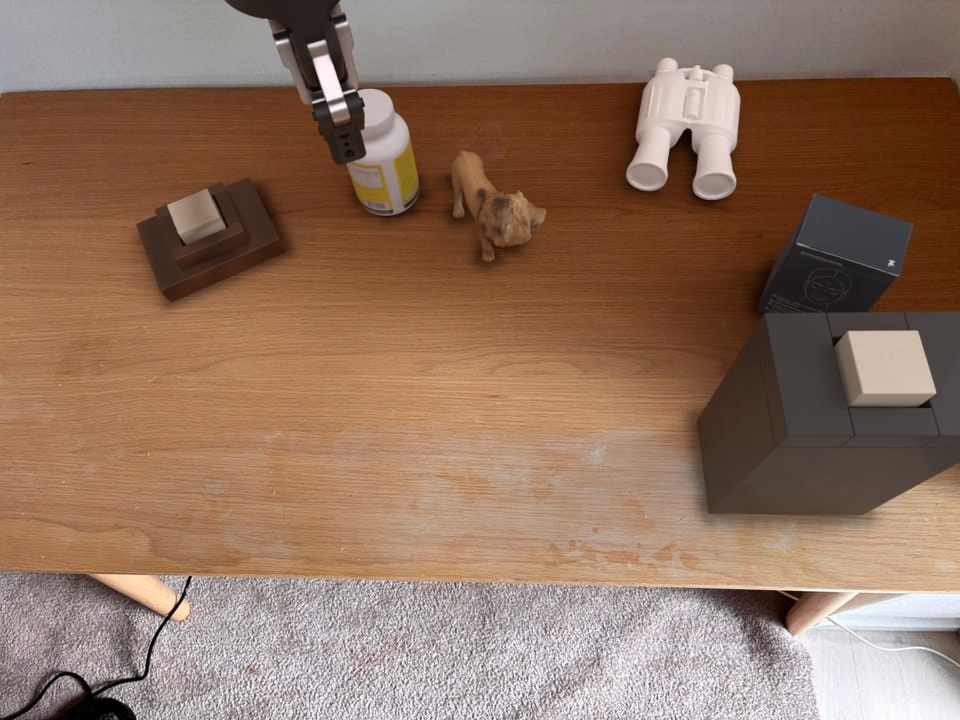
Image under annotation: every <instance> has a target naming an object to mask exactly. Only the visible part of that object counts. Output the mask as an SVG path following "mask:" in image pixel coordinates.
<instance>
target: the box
mask: <svg viewBox="0 0 960 720" xmlns="http://www.w3.org/2000/svg"><path fill="white" fill-rule="evenodd" d="M913 225H914V223H912V222H908V221H907V220H906V221H905V220H902V219H899V218H896V217H892V216H889V215H886V214H883V213H878V212H876V211H873V210H870V209H866V208H863V207H860V206H857V205H853V204H849V203H846V202H843V201H840V200H837V199H833V198H830V197H827V196H823V195H820V194H818V193H813V195H812V196H811V198H810V199H809V201H808V204H807V205H806V207H805V209H804V211H803V212H802V214H801V215H800V217H799V219H798V221H797V223H796V225H795V226H794V228H793V230H792V232H791V233H790V235H789V237H788V239H787V240H786V242H785V244H784V246H783V248H782V249H781V251H780V253H779V254H778V256H777V258H776V260H775V261H774V263H773V265H772V268H771V271H770V273H769V276H768V279H767V281H766V283H765V287H764V290H763V291H762V294H761V297H760V300H759V303H758V304H757V308H756V311H757V312H758V313H761V314H763V315H764V314H765V313H845V312H870V311H871V309H873V307H874V306H875V305H876V303H878V301H879V300H880V299H881V298H882V297H883V295H885V293H886V292H887V291H888V290H889V288H890V287H891V286H892V285H893V284H894V283H895V282H896V280H897V279H898V278H899V277H900V275H901V274H902V273H901V272H902V269H903V264H904V261H905V257H906V253H907V249H908V245H909V241H910V238H911V233H912V230H913Z"/></svg>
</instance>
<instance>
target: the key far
mask: <svg viewBox="0 0 960 720" xmlns="http://www.w3.org/2000/svg"><path fill="white" fill-rule="evenodd" d="M203 189H204V190H203ZM203 189H201V190H202V191H200V190H198V191H199V192H198V191H196V192H197V193H195V192H194V193H195V194H193V193H191V194H192V195H191V194H189V195H190V196H188V195H186V196H187V197H186V196H184V197H185V198H183V197H182V198H183V199H181V198H179V199H180V200H178V199H177V200H178V201H176V200H174V201H175V202H174V201H172V202H173V203H171V202H169V203H170V204H169V203H167V204H168V205H167V207H168V209H169V212H170V214H171V217H172V219H173V222H174V224H175V227H176V229H177V232H178V234H179V236H180V237H181V238H182V240H183V241H184V243H185V244H186V245H188V244H190V243H192V242H195V241H197V240H199V239H202V238H204V237H206V236H209V235H211V234H213V233H216V232H218V231H220V230H223V229H225V228H226V226H225V224H224V221H223V219H222V217H221V215H220V212H219V210H218V208H217V206H216V203H215V201H214V199H213V198H212V196H211V194H210V193H209V191H208V189H205V188H203Z"/></svg>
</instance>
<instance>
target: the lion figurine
mask: <svg viewBox="0 0 960 720" xmlns="http://www.w3.org/2000/svg"><path fill="white" fill-rule="evenodd" d="M443 178H444V179H445V180H446V181H448V182H451V183H452V188H453V192H454V194H453V202H454V203H453V205H454V206H453V211H452V215H453V218H455V219H461V218H463V217H465V210H464V207H463V201H462V198H463V195H462V194H464V199H465V202H466V205H467V208H468V210H469V211H470V213H471V215H472V216H473V218H474V219H475V220H476V226H477V230H478V237H479V240H480V244H481V249H482V253H481V259H482V260H483V261H484V262H487V263H489V262H492V261H493V260H495V259H496V258H495V257H496V256H495V249H494V247H493V246H492V244H493V245H494V246H496V247H498V246H499V247H500V248H502V249H504V248H505V247H507V248H508V247H509V248H510V247H513V246H517V245H520V246H521V245H523V244H526V243H527V242H528V241H530V239H531V238H532V235H531V229H537V228H539V226H540V225H541V224H542V223H544V221H545V217H546V215H547V210H546V209H545V208H543V207H537V206H535V205H534V204H533V203H532V202H531V201H529V200H528V199H527V197H525V196H524V193H523V192H522V191H520V190H517V191H516V192H515V194H511V193H504V192H498V191H497V189H496V188H495V187H494V185H493V184H492V182H491V181H490V180H489V179H488V178H487V176H486V175H485V166H484V163H483V161H482V158H481V157H480V156H479V155H478V154H477V153H475V152H473V151H467V150H461V151H459V153H458V155H457V156H456V158H455V159H454V161H453V162H452V168H451V173H448V174H444V175H443Z"/></svg>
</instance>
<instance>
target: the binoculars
mask: <svg viewBox="0 0 960 720" xmlns="http://www.w3.org/2000/svg"><path fill="white" fill-rule="evenodd" d="M641 95H642V96H641V102H640V107H639V112H638V118H637V124H636V129H635V140H636V142H637V144H638V147H637V149H636V152H635V153H634V157H633V159H632V161H631V162H630V163H629V165H627V168H626V173H625V176H626V180H627V183H629V185H631V186H632V187H633V188H635V189H637V190H640V191H645V192H653V191H657V190H659V189H661V188H663V187H664V186H665V185H666V182H667V180H668V176H669V173H668V161H669V155H670V149H671V148H673V147H674V146H676V145H677V143H678V141H679V139H680V138H681V136H682V134H683V133H684V132H685V130H686V129H689V130H690V131H691V148H692V150H693V152H694V153H695V154H696V155H697V165H696V173H695V176H694V178H693V180H692V190H693V193H694V194H695V195H696V196H697V198H701V199H703V200H708V201H716V200H721V199H725V198H727V197H728V196H730V195H731V194H732V193H733V192H734V191H735V190H736V187H737V177H736V175H735V173H734V170H733V164H732V158H731V153H733V152H734V151H735V149H736V147H737V143H738V132H739V120H740V111H741V110H740V109H741V96H740V93H739V91H738V88H737V86H736V85H734V68H732V66H731V65H729V64H726V63H722V64H721V63H720V64H717V65H716V66H714V67H713V69H712V70H711V71H710V70H708V69H702V68H701V66H700V65H699V64H698V65H696V64H695V65H694V66H693V67H682V68H679V64H678V62H677V60H675V59H674V58H671V57H664V58H662V59H660V60H659V61H658V62H657V63H656V67H655V73H654V76H653V77H652V78H651V79H650V80H649V81H648V82H647V84H646V85H645V86H644V89H643V91H642V94H641Z"/></svg>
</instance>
